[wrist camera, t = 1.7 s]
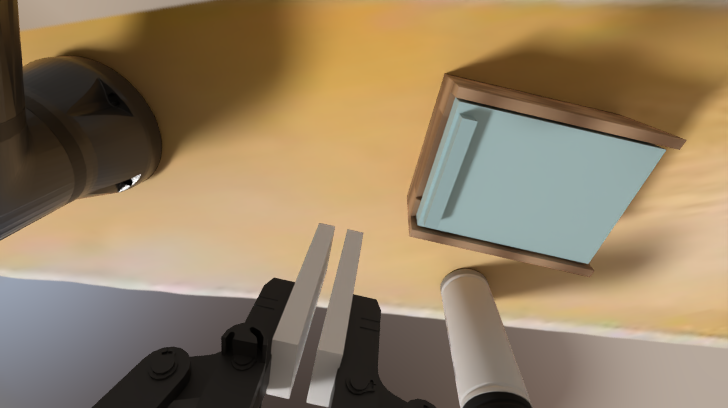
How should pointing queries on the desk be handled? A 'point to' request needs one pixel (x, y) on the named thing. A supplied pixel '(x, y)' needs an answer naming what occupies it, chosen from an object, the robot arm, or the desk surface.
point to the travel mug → (480, 345)
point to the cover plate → (532, 181)
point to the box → (526, 105)
